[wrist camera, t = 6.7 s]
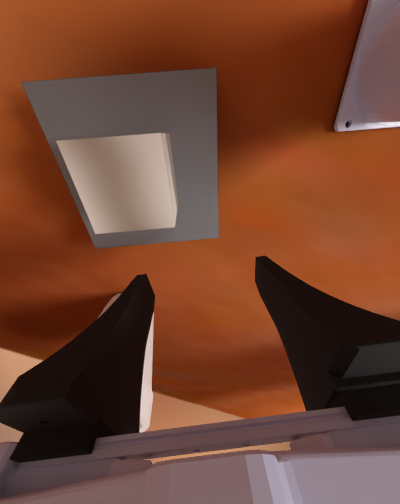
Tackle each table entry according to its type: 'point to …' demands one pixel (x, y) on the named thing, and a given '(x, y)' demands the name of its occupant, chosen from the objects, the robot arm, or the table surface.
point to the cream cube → (124, 181)
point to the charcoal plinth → (142, 122)
